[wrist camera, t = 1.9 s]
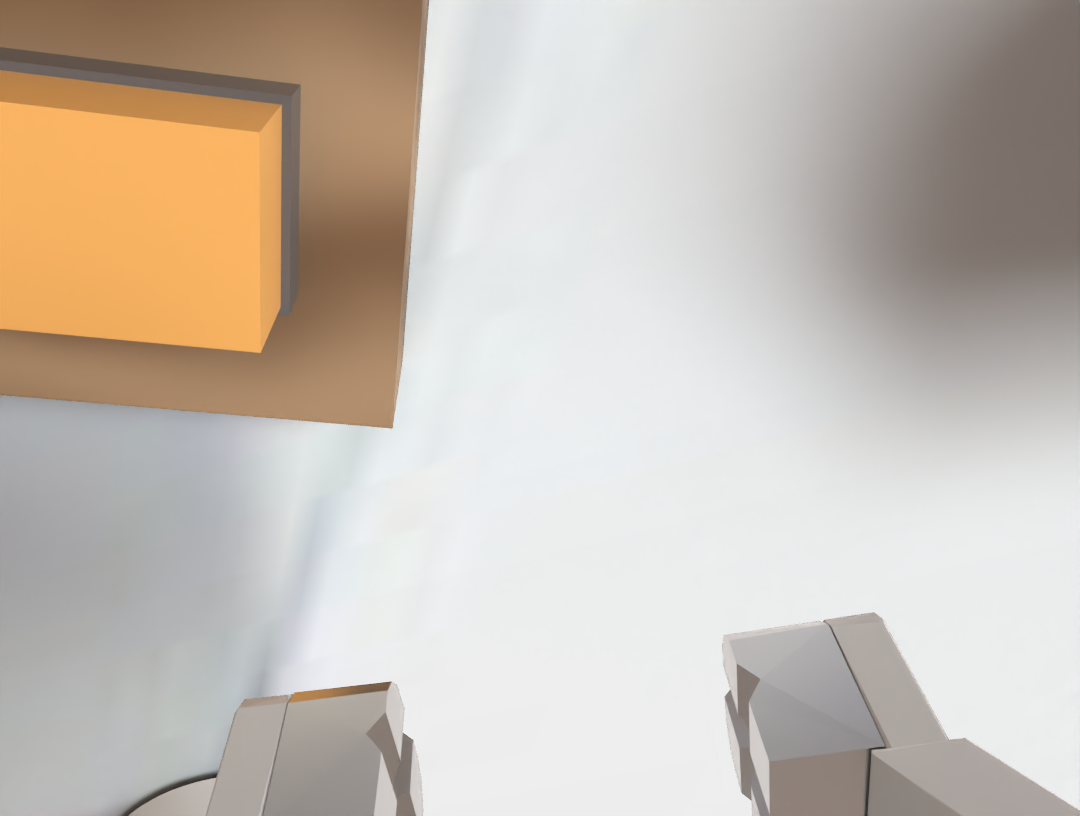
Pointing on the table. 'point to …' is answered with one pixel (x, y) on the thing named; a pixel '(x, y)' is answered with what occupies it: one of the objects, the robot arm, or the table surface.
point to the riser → (324, 204)
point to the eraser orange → (146, 201)
